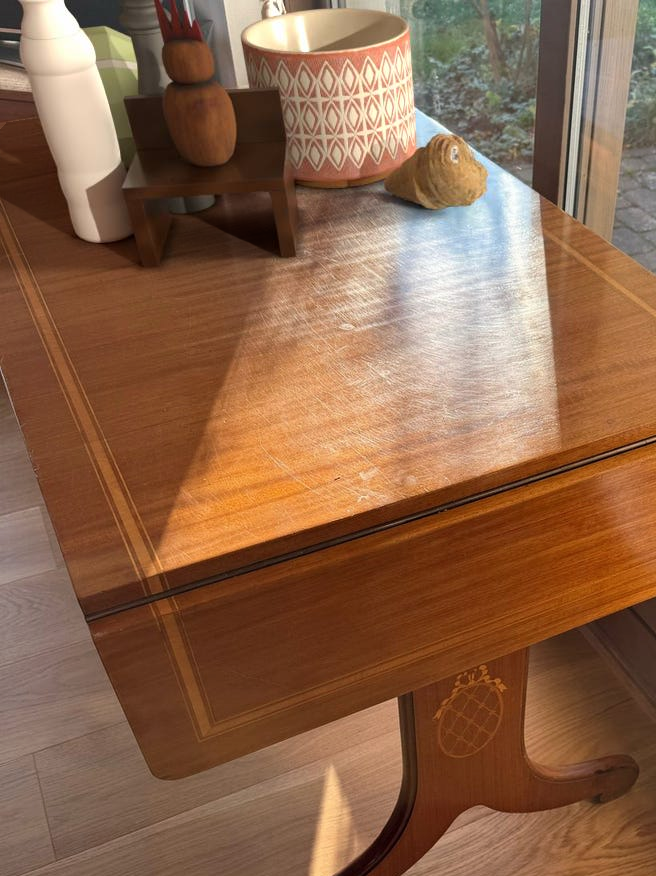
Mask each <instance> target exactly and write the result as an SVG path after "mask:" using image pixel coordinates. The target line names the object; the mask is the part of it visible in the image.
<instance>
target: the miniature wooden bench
mask: <svg viewBox="0 0 656 876" xmlns="http://www.w3.org/2000/svg"><path fill="white" fill-rule="evenodd" d="M225 91H226V92H227V94H228V96H229V98H230V99H231V102H232V106H233V109H234V114H235V120H236V141H235V147H234V151H233V154H232V156H231V157H230V159H229V160H228V161H227V162H226V163H224V164H220V165H217V166H212V167H200V166H197V165H193V164H190V163H188V162H187V161H186V160H184V158H183V157H182V156H181V154H180V153H179V151H178V149H177V147H176V145H175V144H174V142H173V140H172V137H171V135H170V132H169V129H168V127H167V123H166V119H165V115H164V110H163V94H164V93H163V94H146V95H130V96H125V97H124V99H123V100H124V104H125V108H126V112H127V116H128V120H129V124H130V128H131V131H132V135H133V139H134V143H135V147H136V150H137V151H136V153H135V156H134V159H133V161H132V164H131V166H130V169H129V171H128V173H127V176H126V179H125V181H124V184H123V186H122V192H123V196H124V199H125V203H126V207H127V210H128V214H129V218H130V221H131V225H132V229H133V232H134V234H133V235H134V236H133V237H134V239H135V243H136V246H137V250H138V254H139V257H140V258H139V259H140V261H141V265H142V267H143V268H151V267H159V266H160V265H159V264H160V261H161V259H162V258H161V257H162V254H163V250H164V247H165V244H166V240H167V236H168V233H169V230H170V225H171V222H172V218H171V215H170V212H169V210H168V206H167V202H166V198H173V197H188V196H203V195H214V196H215V195H216V196H217V195H230V194H247V193H260V192H269V193H270V199H271V206H272V211H273V215H274V223H275V228H276V229H275V230H276V233H277V234H276V235H277V239H278V240H277V241H278V246H279V253H280V257H281V258H292V257H297V251H298V234H299V232H298V230H299V212H300V211H299V204H298V198H297V197H298V196H297V191H296V185H295V184H296V183H294V178H293V171H292V165H291V158H290V152H289V145H288V139H287V132H286V125H285V119H284V112H283V106H282V99H281V93H280V87H279V86H278V87H262V88H249V87H248V88H247V87H245V88H232V89H225Z"/></svg>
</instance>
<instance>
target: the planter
mask: <svg viewBox="0 0 656 876" xmlns="http://www.w3.org/2000/svg"><path fill="white" fill-rule="evenodd" d="M410 35H411V33H410V25H409V23H408V21H407V20H406V19H405V18H403V17H402V16H399V15H397V14H394V13H391V12H386V11H383V10H377V9H376V10H375V9H368V8H367V9H366V8H351V7H347V8H346V7H342V8H341V7H339V8H338V7H337V8H335V7H334V8H333V7H332V8H317V9H306V10H298V11H293V12H286V14H284V13H281V15H277V16H273V17H269V18H266V19H263V20H262V19H261V20H258V21H255V22H253V23H251V24H250V25H248V26H246V27H245V28H244V29H243V30H242V31H241V33H240V42H241V47H242V54H243V59H244V65H245V70H246V77H247V82H248V88H262V87H278V86H279V87H280V93H281V99H282V106H283V112H284V119H285V125H286V132H287V139H288V145H289V152H290V158H291V165H292V171H293V178H294V184H297V185H301V186H305V187H312V188H320V189H340V188H341V189H342V188H352V187H357V186H364V185H368V184H373V183H375V182H378V181H382V180H385V179H386V178H387V177H388V175H389V174H391V173H392V172H393V171H394V170H395V169H396V168H398V167H400V166H401V165H402V163H403V162H404V161H405V160H407V159H408V158H410V157H411V156H412V155H413V154H414V152H415V151H416V150H417V149H418V140H417V125H416V124H417V123H416V110H415V96H414V95H415V94H414V80H413V79H414V78H413V66H412V50H411V49H412V48H411V36H410Z"/></svg>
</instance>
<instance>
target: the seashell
mask: <svg viewBox="0 0 656 876" xmlns="http://www.w3.org/2000/svg"><path fill="white" fill-rule="evenodd" d="M488 177H489V171H488V170H487V168H486V167H485V166H484V164H483V163H481V162H480V161H478V160H477V159H476V157H475V154H474V152H473V150H471V148H470V146H469V143H468V142H466V141H465V140H464V139H463V137H461V136H459V135H457V134H454V133H450V134H449V133H448V134H446V133H440V132H439V133H437V134H436V135H433V136H432V137H431V138H430V139H429V141H428V142H427V143H426V145H425V146H420V147H419V148H417V150H416V151H415V152H414V154H413V155H412V156H411V157H410V158H408V159H407V160H405V161H404V162H403V163H402V165H401V166H400V167H398V168H396V169H395V170H394V171H393V172H392V173H391V174H389V175H388V177H387V178H384V186H383V187H384V190H385V191H387V192H388V193H390V194H392V195H394V196H395V197H398V198H402V199H403V200H405V201H410V202H413V203H415V204H417V205H421V206H423V207H424V208H426V209H430V210H434V211H441V210H444V209H446V208H449V207H453V208H456V207H470V206H471V205H473V203H474V202H476V201H477V200H479V199H480V198H482V197H483V196H484V195H485V194H486V193H487V192H488V186H487V184H486V183H487V179H488Z"/></svg>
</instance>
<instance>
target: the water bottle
mask: <svg viewBox="0 0 656 876" xmlns="http://www.w3.org/2000/svg"><path fill="white" fill-rule="evenodd" d="M17 1H18V2H19V3H20V4H21V6H22V10H23V16H22V20H21V24H20V27H21V28H20V30H21V35H20V42H19V58H20V61H21V64H22V66H23V68H24V69H25V70H26V72H27V76H28V82H29V85H30V88H31V92H32V97H33V102H34V104H35V105H34V106H35V108H36V111H37V114H38V119H39V121H40V125H41V127H42V131H43V134H44V136H45V140H46V142H47V145H48V148H49V151H50V153H51V156H52V158H53V161H54V163H55V166H56V168H57V176H58V181H59V184H60V187H61V191H62V193H63V196H64V197H65V199H66V202H67V205H68V206H67V207H68V213H69V217H70V220H71V224H72V226H73V229H74V232H75V234H76V235H77V236H78V237H79V238H80V239H82V240H83V241H86V242H90V243H95V244H96V243H97V244H101V243H102V244H104V243H105V244H106V243H113V242H117V241H122V240H125V239H127V238H130V237H131V236H132V235H134V232H133V229H132V225H131V221H130V218H129V214H128V210H127V207H126V203H125V199H124V196H123V192H122V186H123V184H124V181H125V179H126V176H127V174H128V173H127V172H126V169H125V166H124V164H123V162H122V160H121V156H120V150H119V145H118V140H117V135H116V131H115V127H114V123H113V119H112V115H111V111H110V107H109V104H108V100H107V97H106V93H105V90H104V87H103V84H102V80H101V78H100V75H99V72H98V69H97V66H96V64H95V62H96V55H95V51H94V48H93V45H92V43H91V41H90V40H89V38H88V37H87V36H86V34H85V33H84V32H83V30H82V27H80V25H79V23H78V21H77V19H76V18H75V17H74V16H73V14H72V13H71V12H70V11H69V9H68V8H67V7H66V5H65V0H17Z"/></svg>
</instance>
